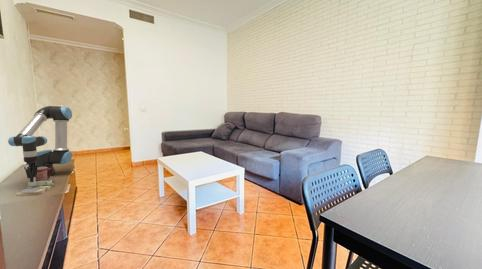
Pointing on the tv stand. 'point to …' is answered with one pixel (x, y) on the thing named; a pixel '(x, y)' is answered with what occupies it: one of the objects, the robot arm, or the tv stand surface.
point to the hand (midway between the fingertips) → (33, 185)
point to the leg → (41, 183)
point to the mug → (43, 173)
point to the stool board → (43, 189)
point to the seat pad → (30, 189)
